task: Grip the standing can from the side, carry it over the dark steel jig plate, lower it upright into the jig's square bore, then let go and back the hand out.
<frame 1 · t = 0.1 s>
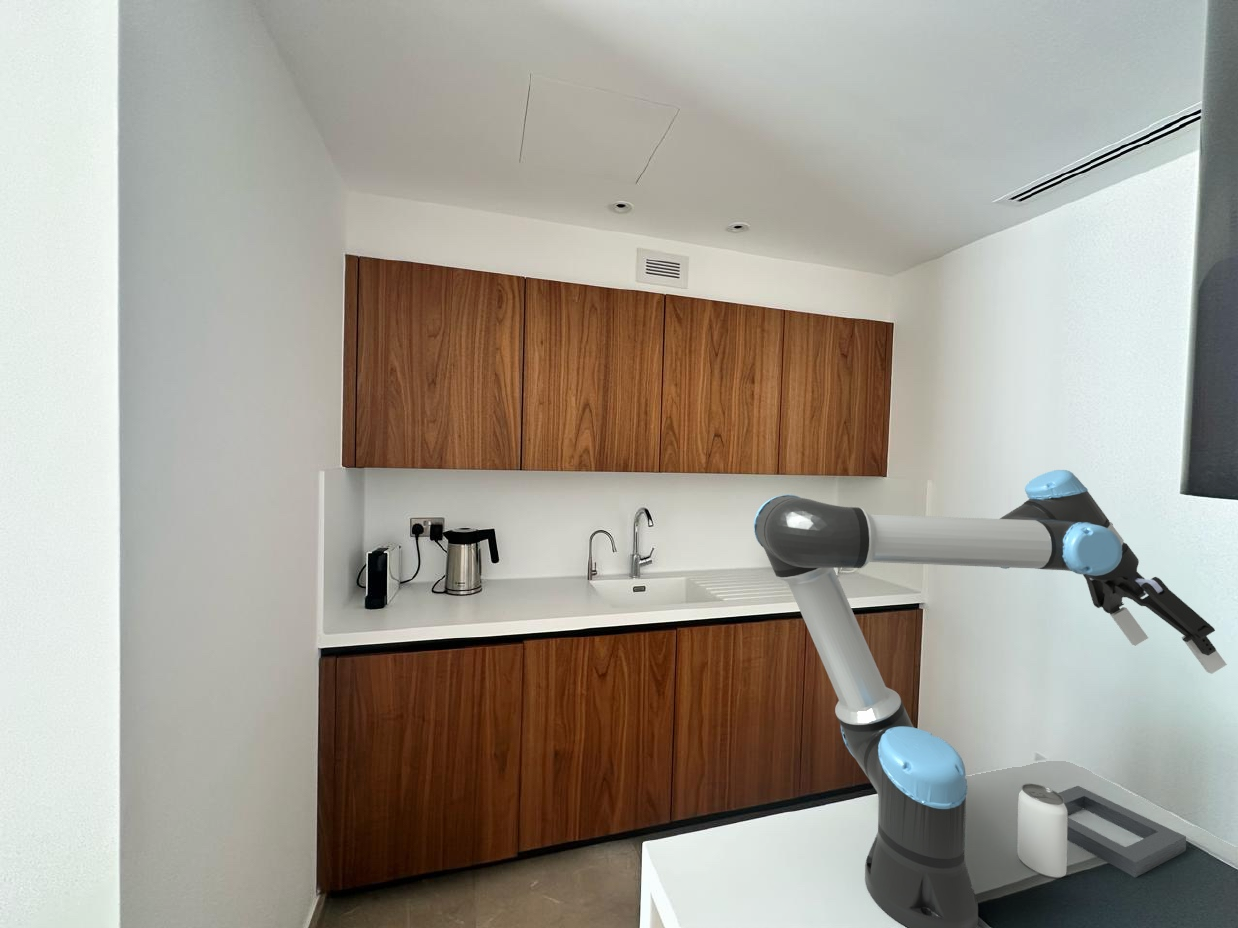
hand: (1175, 653, 90), 36 cm above the table, fingers open, 13 cm apart
jig: (1103, 833, 97), on the table
can: (1041, 865, 88), on the table
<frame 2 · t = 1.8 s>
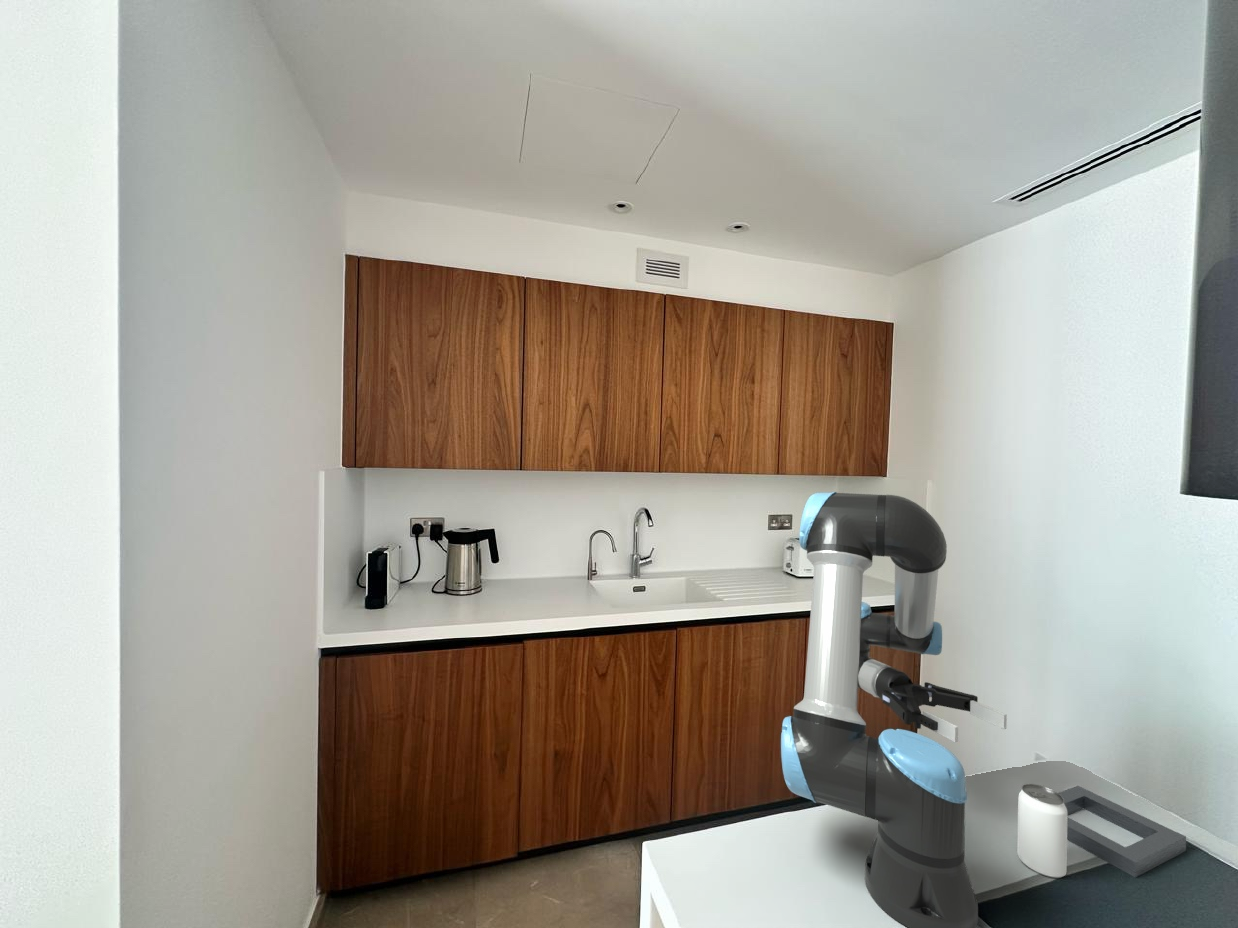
hand: (981, 728, 98), 18 cm above the table, fingers open, 13 cm apart
nothing on the table moved.
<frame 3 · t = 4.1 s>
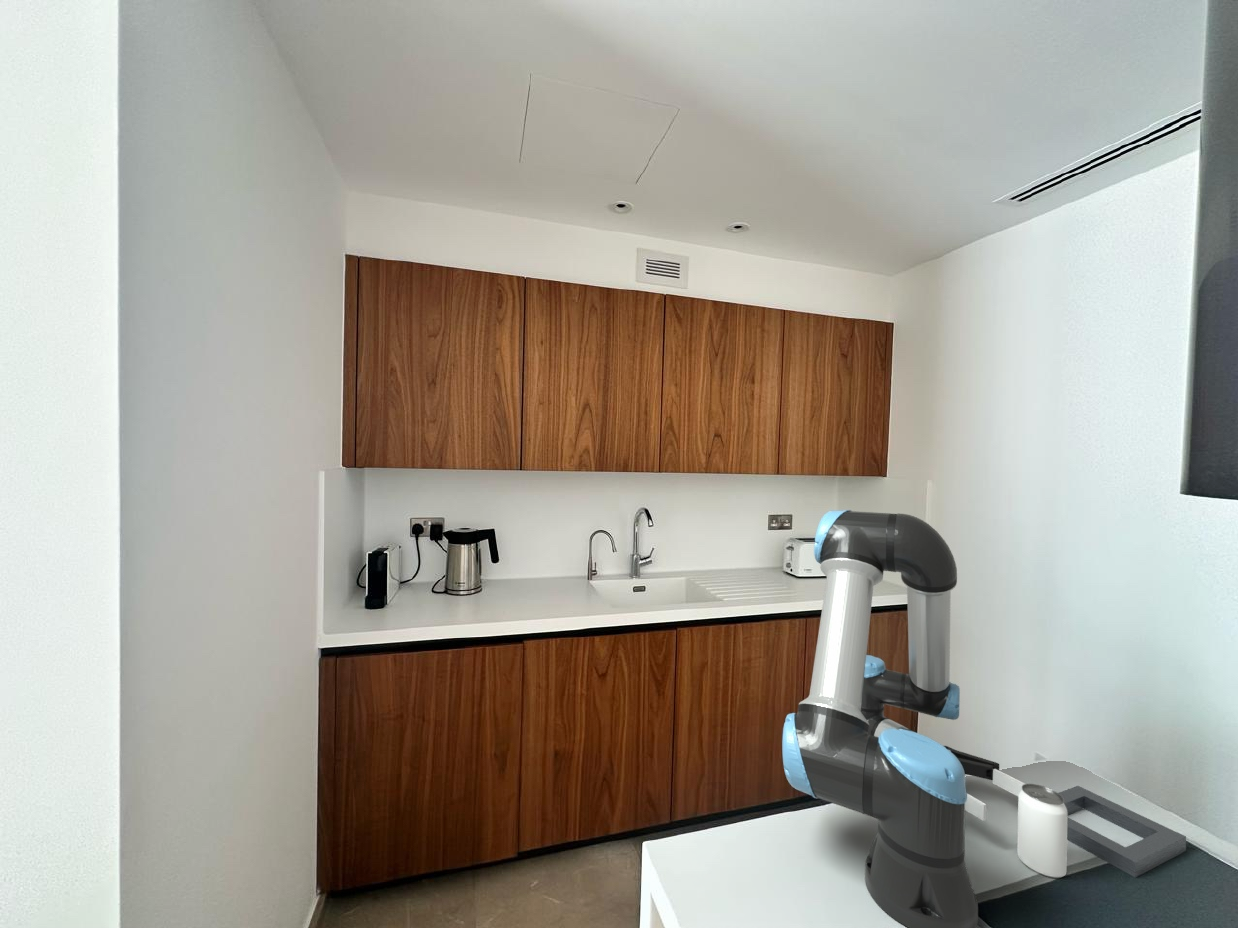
hand: (1009, 803, 94), 7 cm above the table, fingers open, 13 cm apart
nothing on the table moved.
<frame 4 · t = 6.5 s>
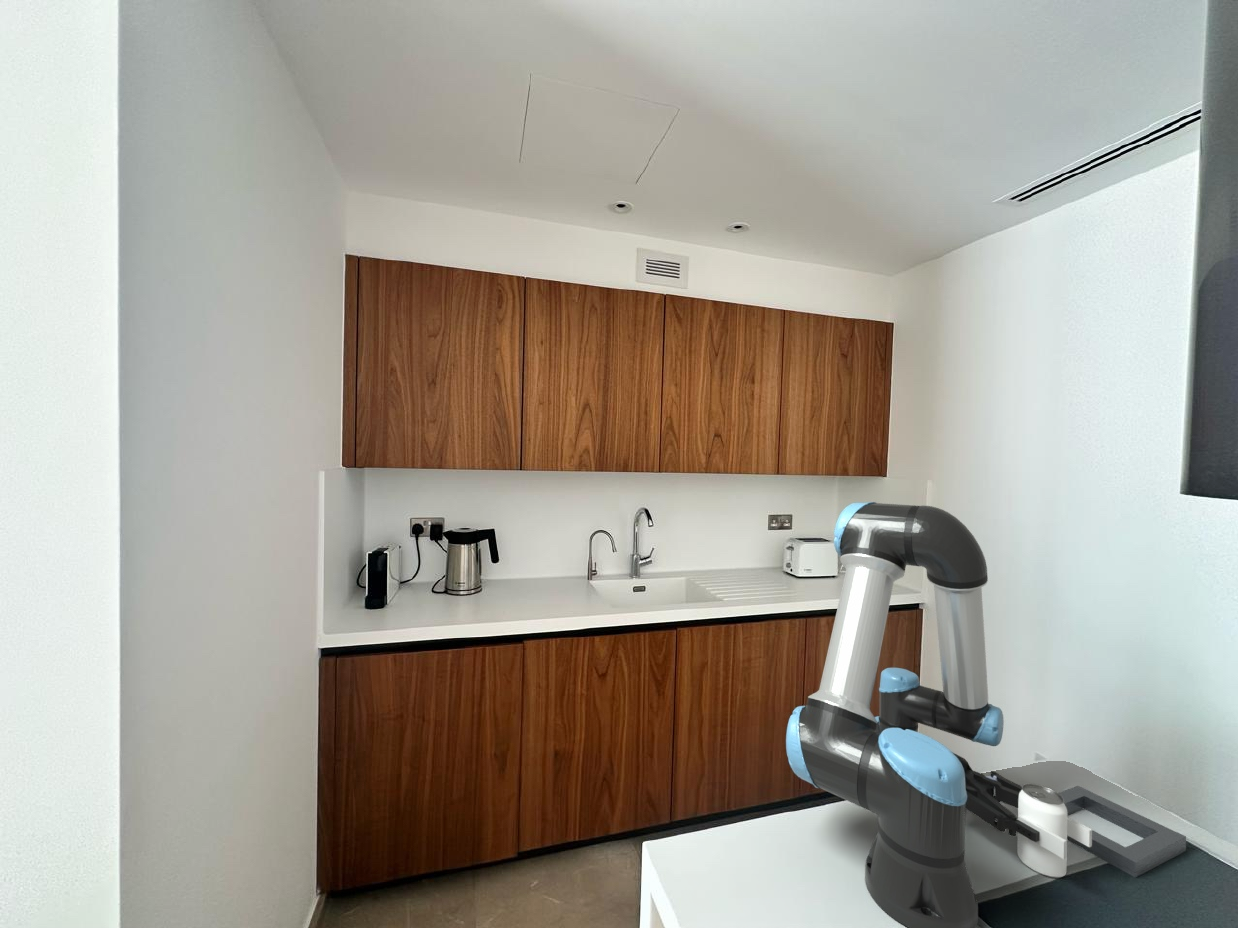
hand: (1077, 843, 84), 7 cm above the table, fingers closed on can, 6 cm apart
can: (1041, 865, 88), on the table, touching gripper
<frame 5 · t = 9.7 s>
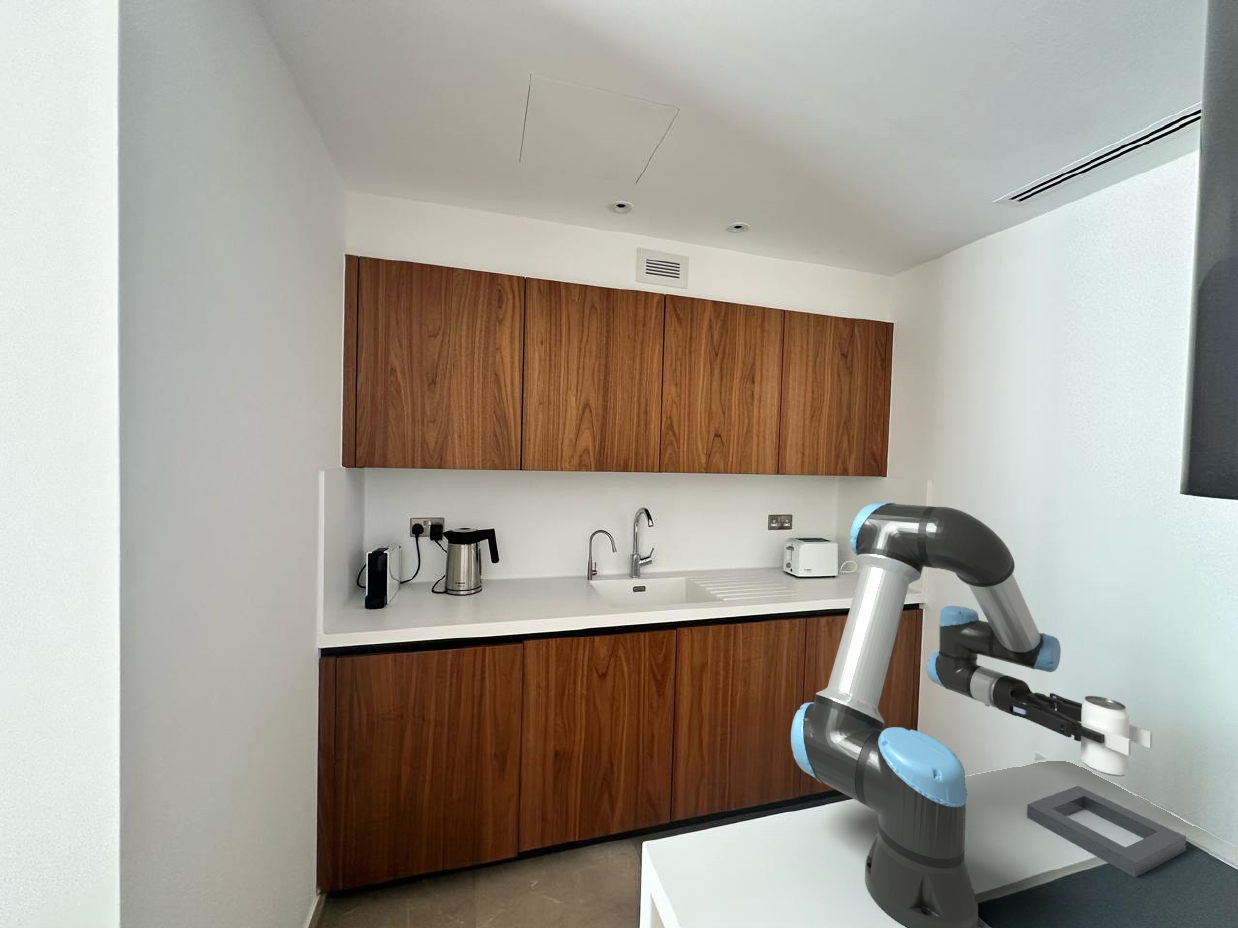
hand: (1140, 743, 92), 19 cm above the table, fingers closed on can, 6 cm apart
can: (1103, 768, 97), point 12 cm above the table, touching gripper
when the fingers open (8 cm above the table, at t = 13.2 s): can stays where it is, resting in jig.
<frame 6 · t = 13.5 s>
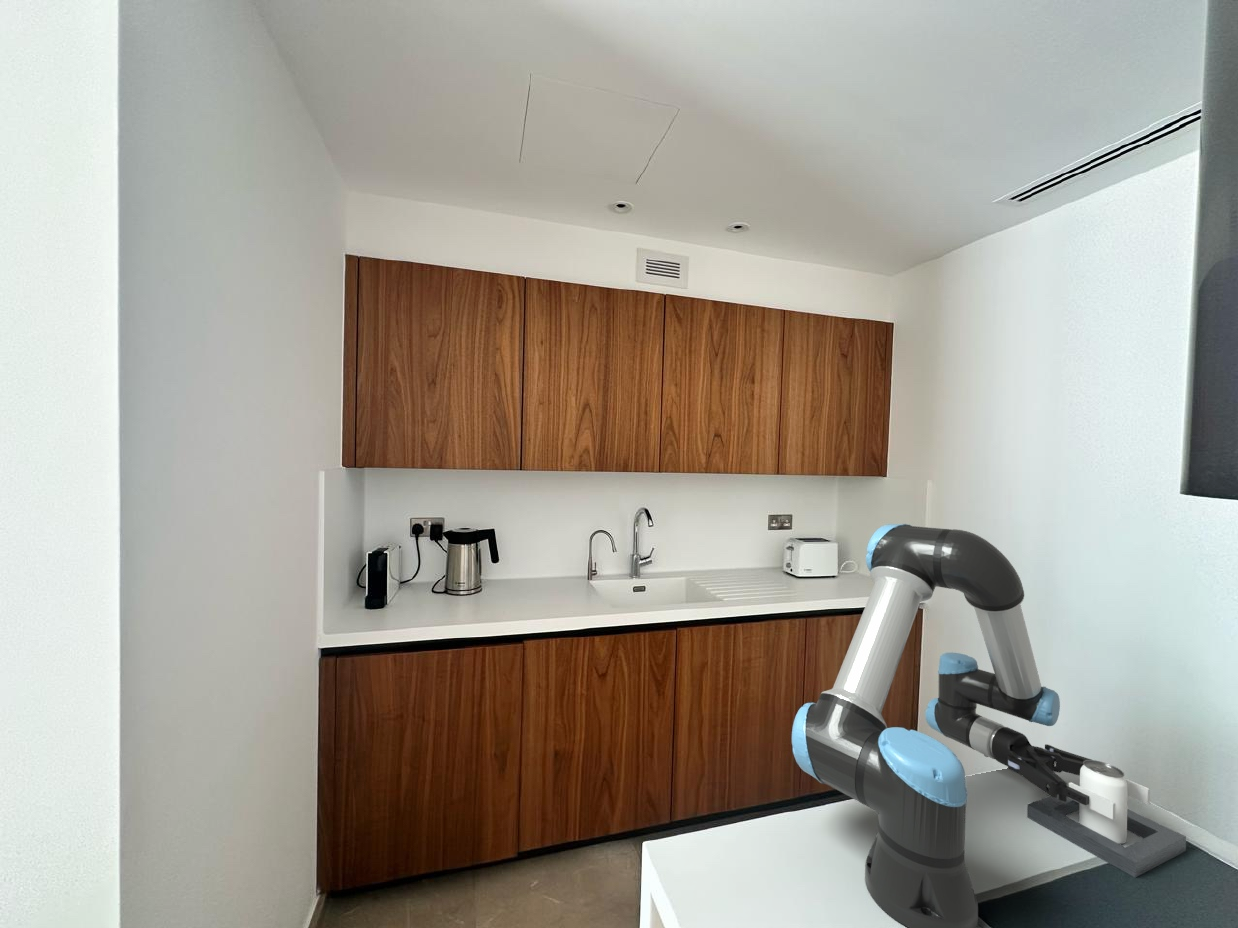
hand: (1131, 803, 93), 8 cm above the table, fingers open, 11 cm apart
can: (1102, 834, 97), resting in jig
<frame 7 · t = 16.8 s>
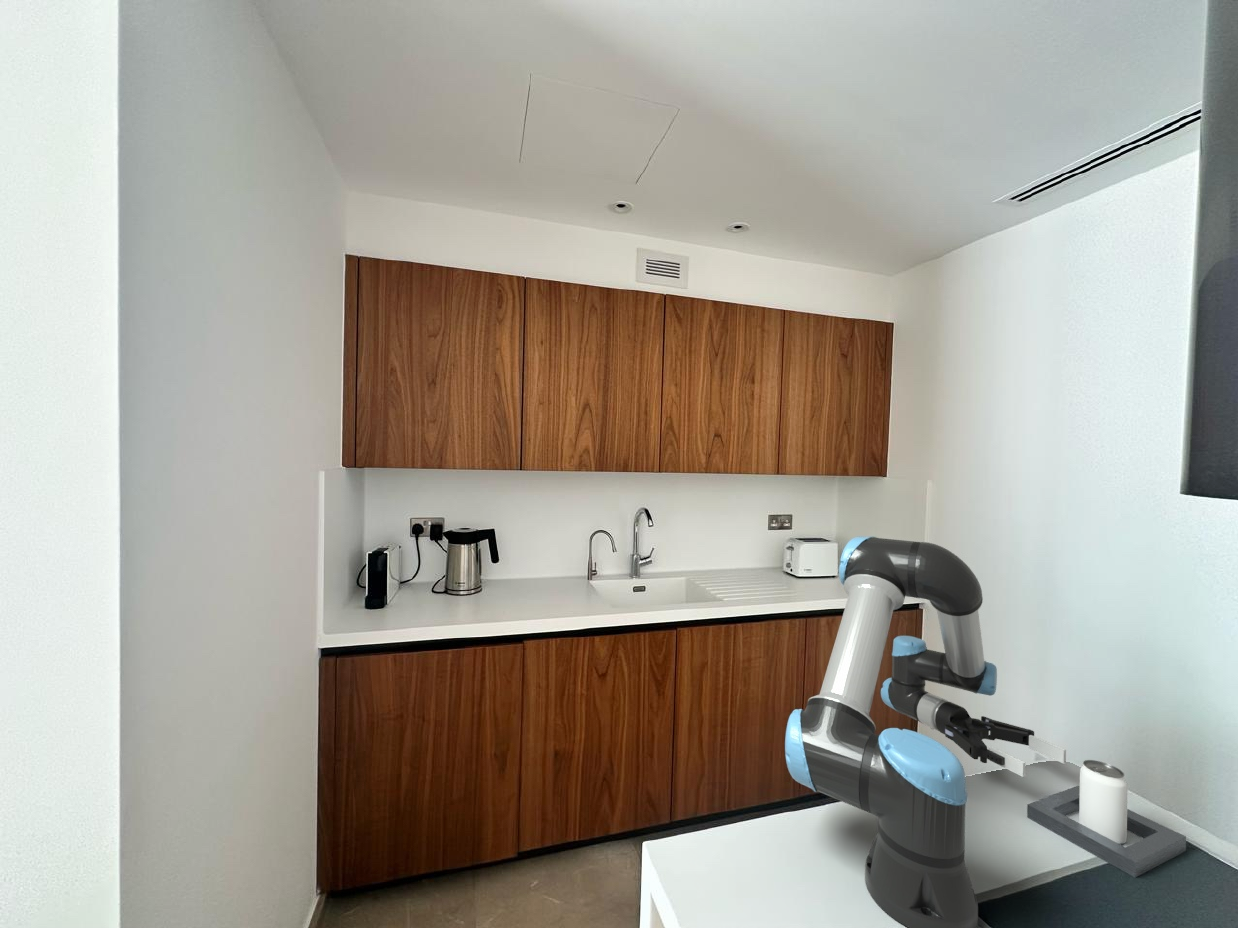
hand: (1045, 763, 106), 8 cm above the table, fingers open, 13 cm apart
nothing on the table moved.
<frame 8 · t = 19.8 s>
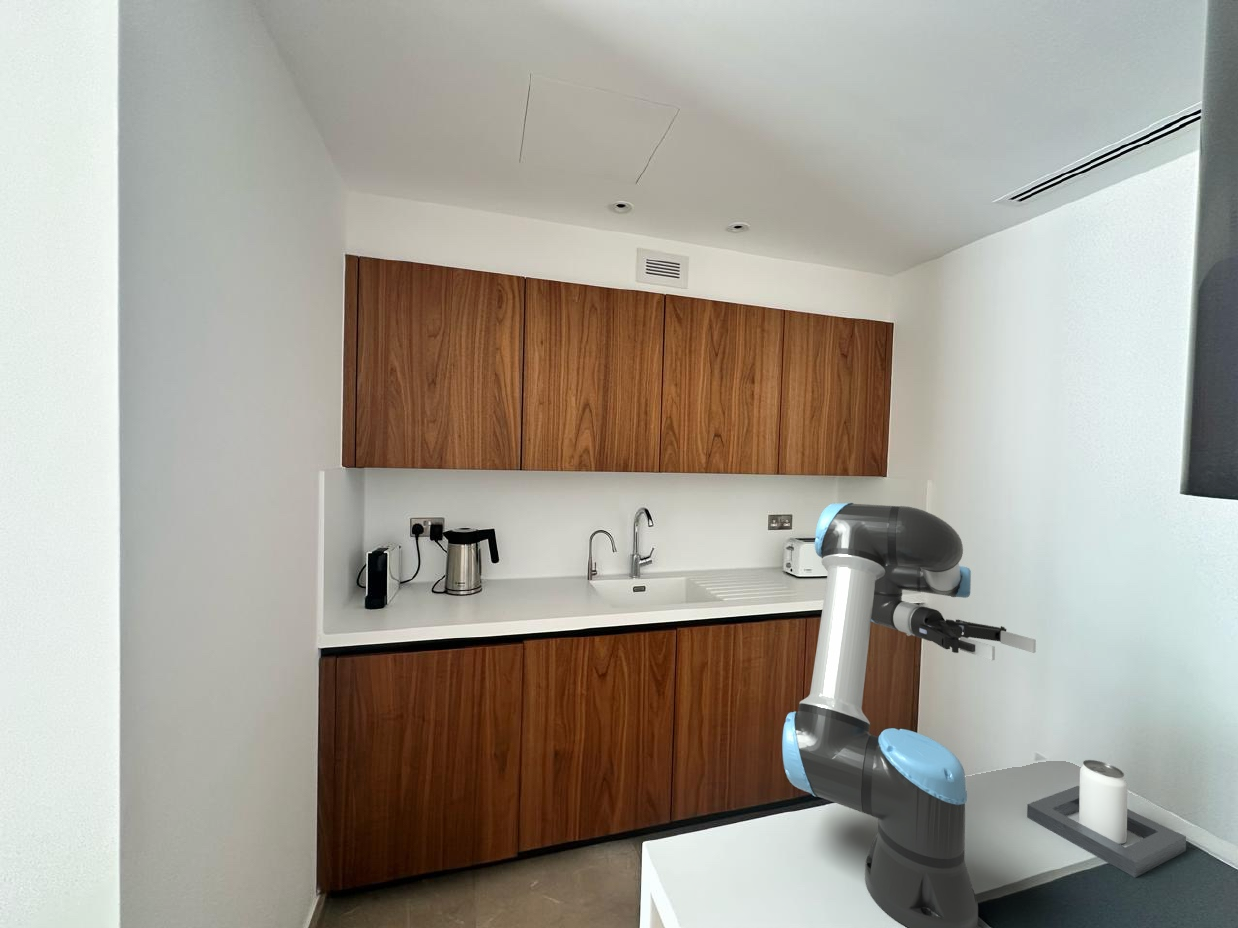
hand: (1014, 649, 108), 30 cm above the table, fingers open, 13 cm apart
nothing on the table moved.
at the end: can 0.1 cm off-centre on the jig, point 0.0 cm above the jig's base; can tilted 0°; the gripper is holding nothing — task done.
